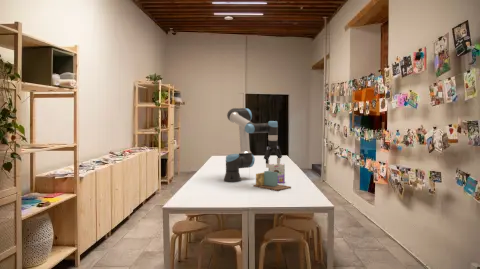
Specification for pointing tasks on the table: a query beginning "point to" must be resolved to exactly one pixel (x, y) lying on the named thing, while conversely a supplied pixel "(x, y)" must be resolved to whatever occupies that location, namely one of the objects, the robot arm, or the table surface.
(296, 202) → the table surface
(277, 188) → the board
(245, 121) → the robot arm
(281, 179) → the candy box
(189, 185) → the table surface
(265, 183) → the stub
